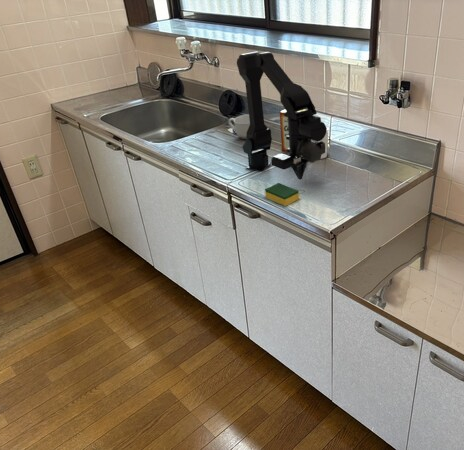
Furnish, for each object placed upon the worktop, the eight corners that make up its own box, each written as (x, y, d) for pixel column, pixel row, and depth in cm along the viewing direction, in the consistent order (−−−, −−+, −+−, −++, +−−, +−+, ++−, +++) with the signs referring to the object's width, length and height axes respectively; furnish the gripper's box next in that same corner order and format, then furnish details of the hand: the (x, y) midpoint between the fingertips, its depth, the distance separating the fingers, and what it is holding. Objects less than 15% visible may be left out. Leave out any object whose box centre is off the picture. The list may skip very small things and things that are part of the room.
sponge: (265, 197, 150) (264, 189, 148) (279, 191, 153) (278, 182, 152) (285, 206, 144) (284, 197, 143) (298, 199, 148) (298, 190, 146)
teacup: (266, 134, 200) (264, 116, 196) (251, 142, 193) (249, 123, 189) (240, 130, 207) (238, 112, 203) (224, 138, 200) (222, 119, 195)
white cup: (327, 160, 173) (326, 134, 168) (306, 159, 175) (305, 133, 169) (329, 152, 180) (329, 126, 174) (309, 151, 181) (308, 126, 176)
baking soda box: (282, 151, 183) (279, 110, 175) (292, 145, 188) (290, 106, 180) (301, 155, 178) (300, 114, 170) (311, 150, 182) (310, 109, 174)
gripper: (294, 147, 133) (297, 196, 141) (338, 129, 144) (338, 176, 152) (268, 139, 140) (272, 186, 148) (311, 122, 151) (313, 167, 159)
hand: (300, 179), depth 152 cm, fingers closed
